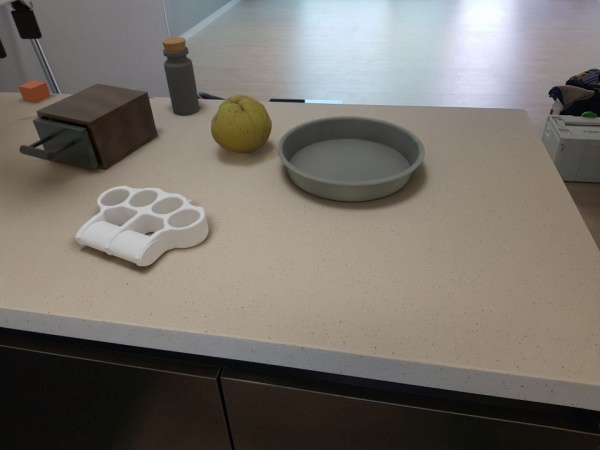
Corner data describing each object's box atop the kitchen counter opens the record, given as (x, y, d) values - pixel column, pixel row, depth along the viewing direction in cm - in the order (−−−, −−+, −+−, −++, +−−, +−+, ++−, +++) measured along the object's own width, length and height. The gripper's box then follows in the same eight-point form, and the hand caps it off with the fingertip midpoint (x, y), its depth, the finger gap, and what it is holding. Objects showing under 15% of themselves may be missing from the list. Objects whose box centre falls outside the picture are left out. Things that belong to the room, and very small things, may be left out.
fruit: (283, 140, 88) (280, 90, 82) (257, 169, 80) (252, 115, 73) (232, 132, 92) (226, 84, 86) (202, 159, 83) (193, 107, 77)
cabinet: (105, 170, 81) (89, 122, 75) (54, 157, 85) (35, 111, 80) (158, 136, 91) (147, 91, 86) (110, 126, 96) (97, 83, 90)
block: (37, 106, 105) (30, 88, 103) (24, 103, 107) (17, 86, 104) (52, 99, 108) (45, 82, 106) (39, 97, 110) (33, 80, 107)
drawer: (68, 185, 75) (52, 145, 71) (20, 172, 79) (2, 133, 75) (145, 137, 89) (136, 101, 84) (101, 127, 93) (90, 93, 88)
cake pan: (449, 192, 72) (454, 167, 70) (301, 221, 67) (300, 195, 64) (384, 129, 91) (386, 107, 89) (264, 147, 86) (263, 125, 83)
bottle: (168, 114, 100) (153, 43, 91) (180, 104, 104) (167, 35, 95) (193, 116, 99) (180, 44, 89) (204, 106, 103) (193, 36, 94)
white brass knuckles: (63, 243, 64) (135, 191, 75) (163, 280, 58) (227, 218, 68) (55, 224, 62) (130, 173, 73) (157, 260, 56) (224, 199, 66)
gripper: (-28, -97, 63) (21, 32, 74) (-126, -91, 50) (-49, 67, 60) (24, -99, 63) (66, 31, 73) (-60, -94, 49) (6, 66, 59)
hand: (14, 47), depth 67 cm, fingers open, 9 cm apart
